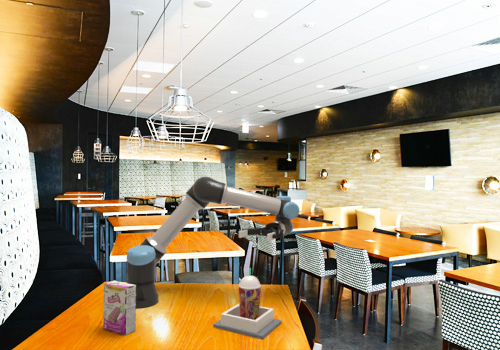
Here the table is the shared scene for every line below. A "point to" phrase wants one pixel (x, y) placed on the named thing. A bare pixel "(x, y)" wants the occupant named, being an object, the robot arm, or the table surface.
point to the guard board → (248, 322)
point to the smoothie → (249, 297)
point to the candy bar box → (119, 307)
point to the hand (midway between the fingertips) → (253, 236)
